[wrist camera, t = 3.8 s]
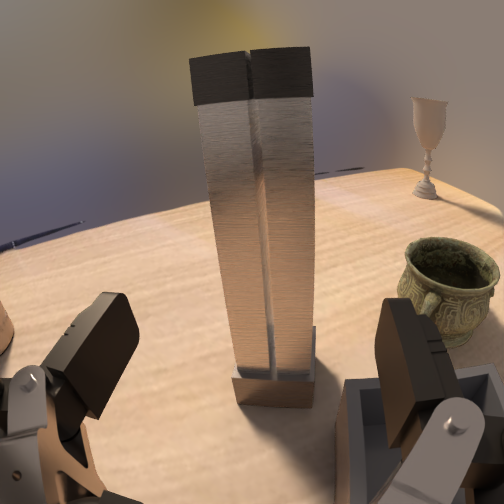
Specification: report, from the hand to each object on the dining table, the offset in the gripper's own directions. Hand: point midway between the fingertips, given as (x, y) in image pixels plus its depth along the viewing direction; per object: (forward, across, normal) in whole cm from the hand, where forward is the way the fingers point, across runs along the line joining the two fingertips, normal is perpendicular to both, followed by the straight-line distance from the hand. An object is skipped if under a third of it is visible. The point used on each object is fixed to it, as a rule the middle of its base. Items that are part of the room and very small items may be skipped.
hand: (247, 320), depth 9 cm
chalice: (+48, -25, +12) cm, 55 cm away
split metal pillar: (+7, 0, +12) cm, 14 cm away
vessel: (+13, -14, +12) cm, 23 cm away
